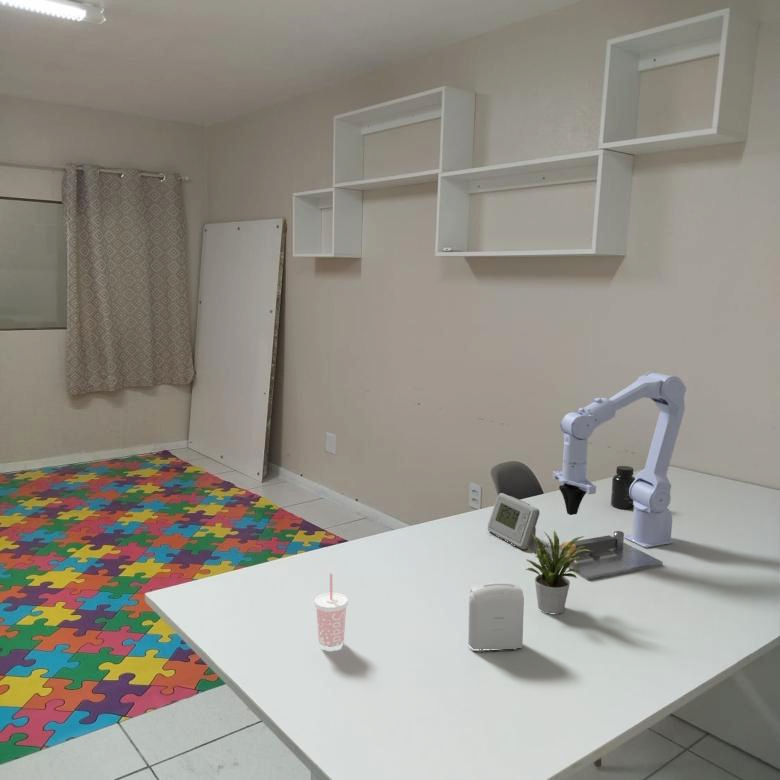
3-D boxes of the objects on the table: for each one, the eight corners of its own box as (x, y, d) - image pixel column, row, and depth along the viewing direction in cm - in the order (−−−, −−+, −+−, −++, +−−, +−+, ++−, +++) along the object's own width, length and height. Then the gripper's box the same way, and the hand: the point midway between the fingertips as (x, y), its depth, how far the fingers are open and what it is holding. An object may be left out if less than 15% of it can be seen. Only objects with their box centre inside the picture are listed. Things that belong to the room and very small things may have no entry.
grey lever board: (611, 540, 186) (612, 521, 186) (662, 565, 170) (663, 545, 169) (541, 552, 178) (542, 533, 177) (588, 580, 162) (589, 559, 161)
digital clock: (484, 530, 193) (486, 492, 191) (515, 527, 195) (516, 490, 194) (511, 553, 177) (513, 512, 176) (544, 549, 180) (545, 509, 178)
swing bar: (608, 544, 179) (608, 534, 178) (615, 548, 176) (615, 538, 176) (561, 552, 173) (562, 542, 173) (568, 556, 171) (568, 546, 170)
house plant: (600, 604, 150) (605, 530, 147) (582, 632, 138) (587, 552, 135) (535, 588, 157) (538, 518, 154) (512, 614, 145) (515, 537, 143)
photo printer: (470, 653, 130) (472, 590, 128) (465, 642, 134) (467, 580, 132) (525, 651, 131) (528, 588, 129) (518, 639, 135) (521, 578, 133)
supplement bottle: (605, 504, 216) (608, 465, 214) (623, 501, 219) (625, 463, 217) (621, 511, 210) (624, 471, 208) (639, 508, 212) (642, 469, 211)
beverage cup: (318, 656, 129) (317, 582, 126) (312, 639, 134) (311, 569, 132) (351, 651, 130) (351, 579, 128) (343, 635, 136) (343, 565, 134)
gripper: (544, 455, 181) (541, 506, 184) (580, 470, 168) (577, 525, 170) (566, 453, 184) (564, 503, 186) (604, 467, 171) (600, 521, 173)
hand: (572, 513), depth 179 cm, fingers closed
